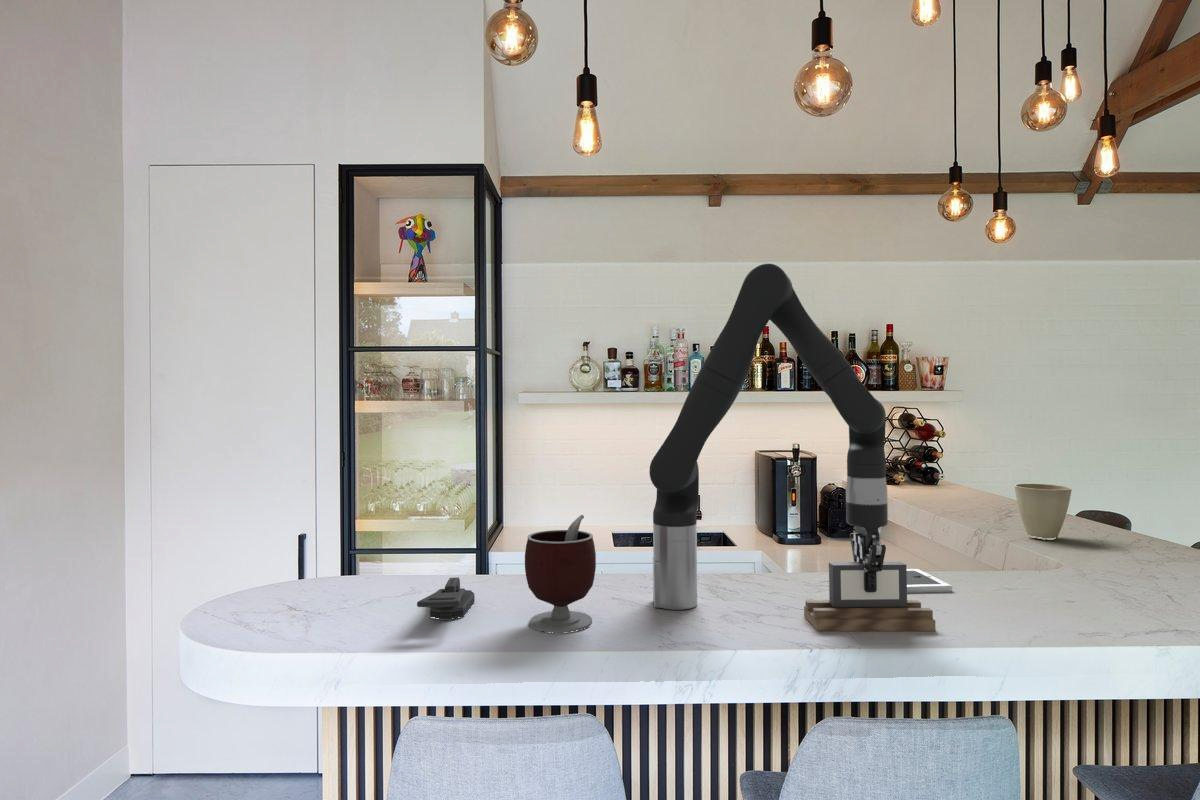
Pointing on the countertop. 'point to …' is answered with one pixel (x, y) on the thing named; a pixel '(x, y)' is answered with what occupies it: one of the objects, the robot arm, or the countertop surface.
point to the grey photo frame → (850, 585)
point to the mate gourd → (560, 575)
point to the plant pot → (1042, 508)
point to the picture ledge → (870, 624)
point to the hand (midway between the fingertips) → (867, 589)
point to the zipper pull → (449, 601)
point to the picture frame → (925, 582)
